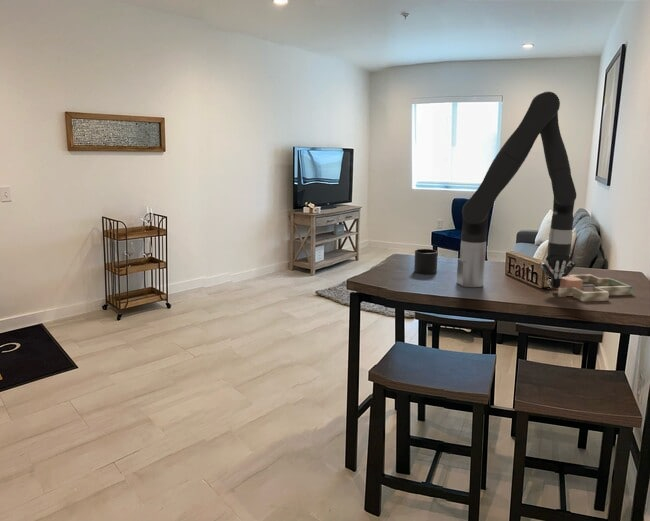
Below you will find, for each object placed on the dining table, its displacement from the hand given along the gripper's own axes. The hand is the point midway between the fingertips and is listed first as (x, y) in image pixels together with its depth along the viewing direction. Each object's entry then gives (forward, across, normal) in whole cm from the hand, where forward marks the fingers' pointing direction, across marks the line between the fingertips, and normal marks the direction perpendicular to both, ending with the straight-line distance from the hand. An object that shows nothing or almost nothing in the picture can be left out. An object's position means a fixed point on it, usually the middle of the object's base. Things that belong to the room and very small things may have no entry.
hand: (555, 287), depth 181 cm
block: (+2, +6, 0) cm, 6 cm away
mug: (+2, -38, +36) cm, 52 cm away
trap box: (+2, +11, 0) cm, 12 cm away
